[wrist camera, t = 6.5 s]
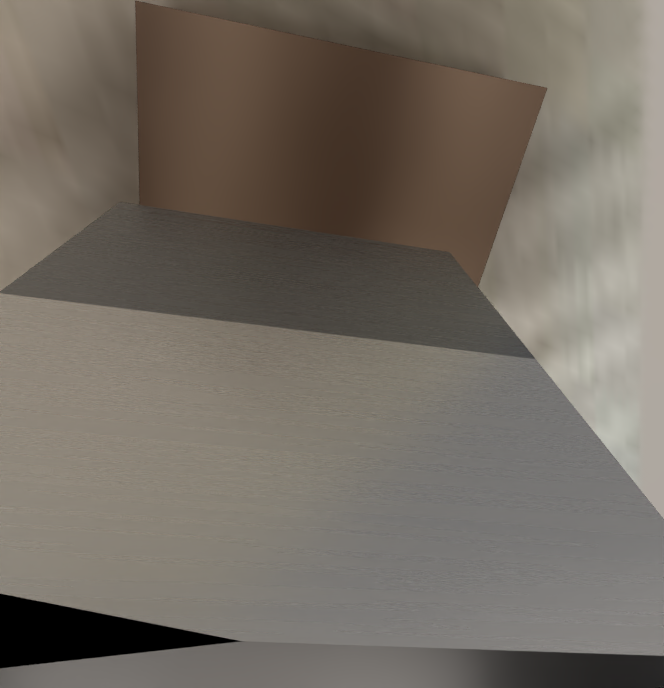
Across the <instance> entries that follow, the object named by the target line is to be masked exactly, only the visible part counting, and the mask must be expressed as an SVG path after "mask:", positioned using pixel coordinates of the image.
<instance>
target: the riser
mask: <svg viewBox="0 0 664 688" xmlns="http://www.w3.org/2000/svg"><path fill="white" fill-rule="evenodd" d="M135 8H136V55H137V102H138V149H139V196H140V205H143V206H150V207H156V208H163V209H170V210H176V211H183V212H189V213H196V214H203V215H209V216H216V217H222V218H229V219H236V220H242V221H249V222H255V223H262V224H269V225H275V226H282V227H288V228H295V229H302V230H308V231H315V232H321V233H328V234H335V235H341V236H348V237H354V238H361V239H368V240H374V241H381V242H387V243H394V244H401V245H407V246H414V247H420V248H427V249H434V250H440V251H447V252H450V253H451V254H452V256H453V257H454V258H455V259H456V261H457V262H458V263H459V264H460V266H461V267H462V268H463V269H464V271H465V272H466V273H467V274H468V276H469V277H470V278H471V279H472V281H473V282H474V283H475V284H476V286H477V287H478V286H479V283H480V280H481V277H482V274H483V271H484V268H485V265H486V263H487V260H488V257H489V254H490V251H491V248H492V245H493V242H494V240H495V237H496V234H497V231H498V228H499V225H500V222H501V220H502V217H503V214H504V211H505V208H506V205H507V202H508V199H509V197H510V194H511V191H512V188H513V185H514V182H515V179H516V176H517V174H518V171H519V168H520V165H521V162H522V159H523V156H524V154H525V151H526V148H527V145H528V142H529V139H530V136H531V133H532V131H533V128H534V125H535V122H536V119H537V116H538V113H539V110H540V108H541V105H542V102H543V99H544V96H545V93H546V90H547V88H545V87H540V86H535V85H531V84H526V83H521V82H516V81H512V80H507V79H502V78H498V77H493V76H488V75H483V74H479V73H474V72H469V71H465V70H460V69H455V68H450V67H446V66H441V65H436V64H432V63H427V62H422V61H417V60H413V59H408V58H403V57H399V56H394V55H389V54H384V53H380V52H375V51H370V50H366V49H361V48H356V47H351V46H347V45H342V44H337V43H333V42H328V41H323V40H318V39H314V38H309V37H304V36H300V35H295V34H290V33H286V32H281V31H276V30H271V29H267V28H262V27H257V26H253V25H248V24H243V23H238V22H234V21H229V20H224V19H220V18H215V17H210V16H205V15H201V14H196V13H191V12H187V11H182V10H177V9H172V8H168V7H163V6H158V5H154V4H149V3H144V2H139V1H135Z"/></svg>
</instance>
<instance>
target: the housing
mask: <svg viewBox="0 0 664 688" xmlns="http://www.w3.org/2000/svg"><path fill="white" fill-rule="evenodd" d="M0 688H664V519H663V517H662V516H661V515H660V514H659V513H658V511H657V510H656V509H655V507H654V506H653V505H652V504H651V503H650V501H649V500H648V499H647V498H646V496H645V495H644V494H643V493H642V491H641V490H640V489H639V488H638V486H637V485H636V484H635V483H634V481H633V480H632V479H631V478H630V476H629V475H628V474H627V473H626V471H625V470H624V469H623V468H622V466H621V465H620V464H619V463H618V461H617V460H616V459H615V458H614V456H613V455H612V454H611V453H610V451H609V450H608V449H607V448H606V446H605V445H604V444H603V443H602V441H601V440H600V439H599V438H598V436H597V435H596V434H595V433H594V431H593V430H592V429H591V428H590V426H589V425H588V424H587V423H586V421H585V420H584V419H583V418H582V416H581V415H580V414H579V413H578V412H577V410H576V409H575V408H574V407H573V405H572V404H571V403H570V402H569V400H568V399H567V398H566V397H565V395H564V394H563V393H562V392H561V390H560V389H559V388H558V387H557V385H556V384H555V383H554V382H553V380H552V379H551V378H550V377H549V375H548V374H547V373H546V372H545V370H544V369H543V368H542V367H541V365H540V364H539V363H538V362H537V360H536V359H535V358H534V357H533V355H532V354H531V353H530V352H529V350H528V349H527V348H526V347H525V345H524V344H523V343H522V342H521V340H520V339H519V338H518V337H517V335H516V334H515V333H514V332H513V330H512V329H511V328H510V327H509V325H508V324H507V323H506V322H505V321H504V319H503V318H502V317H501V316H500V314H499V313H498V312H497V311H496V309H495V308H494V307H493V306H492V304H491V303H490V302H489V301H488V299H487V298H486V297H485V296H484V294H483V293H482V292H481V291H480V289H479V288H478V287H477V286H476V284H475V283H474V282H473V281H472V279H471V278H470V277H469V276H468V274H467V273H466V272H465V271H464V269H463V268H462V267H461V266H460V264H459V263H458V262H457V261H456V259H455V258H454V257H453V256H452V254H451V253H450V252H447V251H440V250H434V249H427V248H420V247H414V246H407V245H401V244H394V243H387V242H381V241H374V240H368V239H361V238H354V237H348V236H341V235H335V234H328V233H321V232H315V231H308V230H302V229H295V228H288V227H282V226H275V225H269V224H262V223H255V222H249V221H242V220H236V219H229V218H222V217H216V216H209V215H203V214H196V213H189V212H183V211H176V210H170V209H163V208H156V207H150V206H143V205H137V204H130V203H123V202H119V203H118V204H117V205H115V206H114V207H113V208H111V209H110V210H109V211H107V212H106V213H105V214H103V215H102V216H101V217H99V218H98V219H97V220H95V221H94V222H93V223H91V224H90V225H89V226H87V227H86V228H85V229H83V230H82V231H81V232H79V233H78V234H77V235H75V236H74V237H73V238H71V239H70V240H69V241H67V242H66V243H65V244H63V245H62V246H60V247H59V248H58V249H56V250H55V251H54V252H52V253H51V254H50V255H48V256H47V257H46V258H44V259H43V260H42V261H40V262H39V263H38V264H36V265H35V266H34V267H32V268H31V269H30V270H28V271H27V272H26V273H24V274H23V275H22V276H20V277H19V278H18V279H16V280H15V281H14V282H12V283H11V284H10V285H8V286H7V287H6V288H4V289H3V290H2V291H0Z"/></svg>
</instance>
